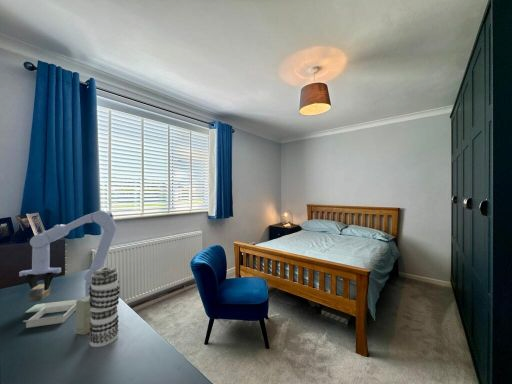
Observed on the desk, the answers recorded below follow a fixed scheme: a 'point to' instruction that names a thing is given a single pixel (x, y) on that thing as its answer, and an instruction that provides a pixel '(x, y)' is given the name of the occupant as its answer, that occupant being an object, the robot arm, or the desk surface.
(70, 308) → the white flat frame
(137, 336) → the desk surface
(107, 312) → the decorative candle
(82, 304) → the skincare box
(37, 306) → the pad
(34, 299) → the block
